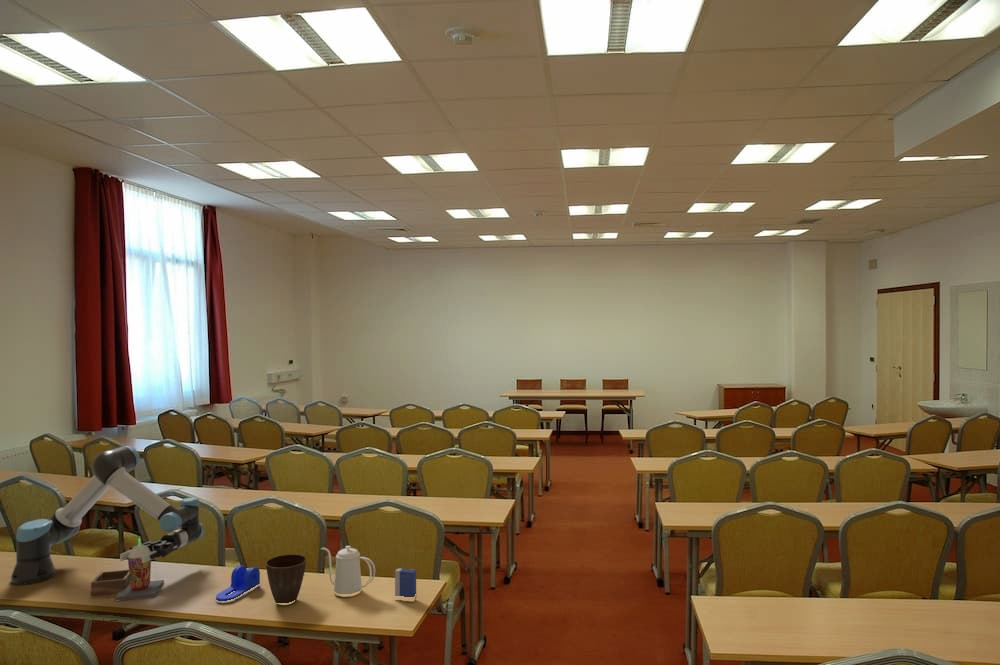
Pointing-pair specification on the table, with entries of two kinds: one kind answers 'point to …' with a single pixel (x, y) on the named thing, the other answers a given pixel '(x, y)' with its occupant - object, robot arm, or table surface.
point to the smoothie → (139, 568)
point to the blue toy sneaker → (240, 582)
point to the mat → (140, 591)
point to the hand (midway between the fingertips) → (131, 558)
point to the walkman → (405, 582)
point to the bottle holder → (110, 582)
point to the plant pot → (285, 576)
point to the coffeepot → (348, 571)
